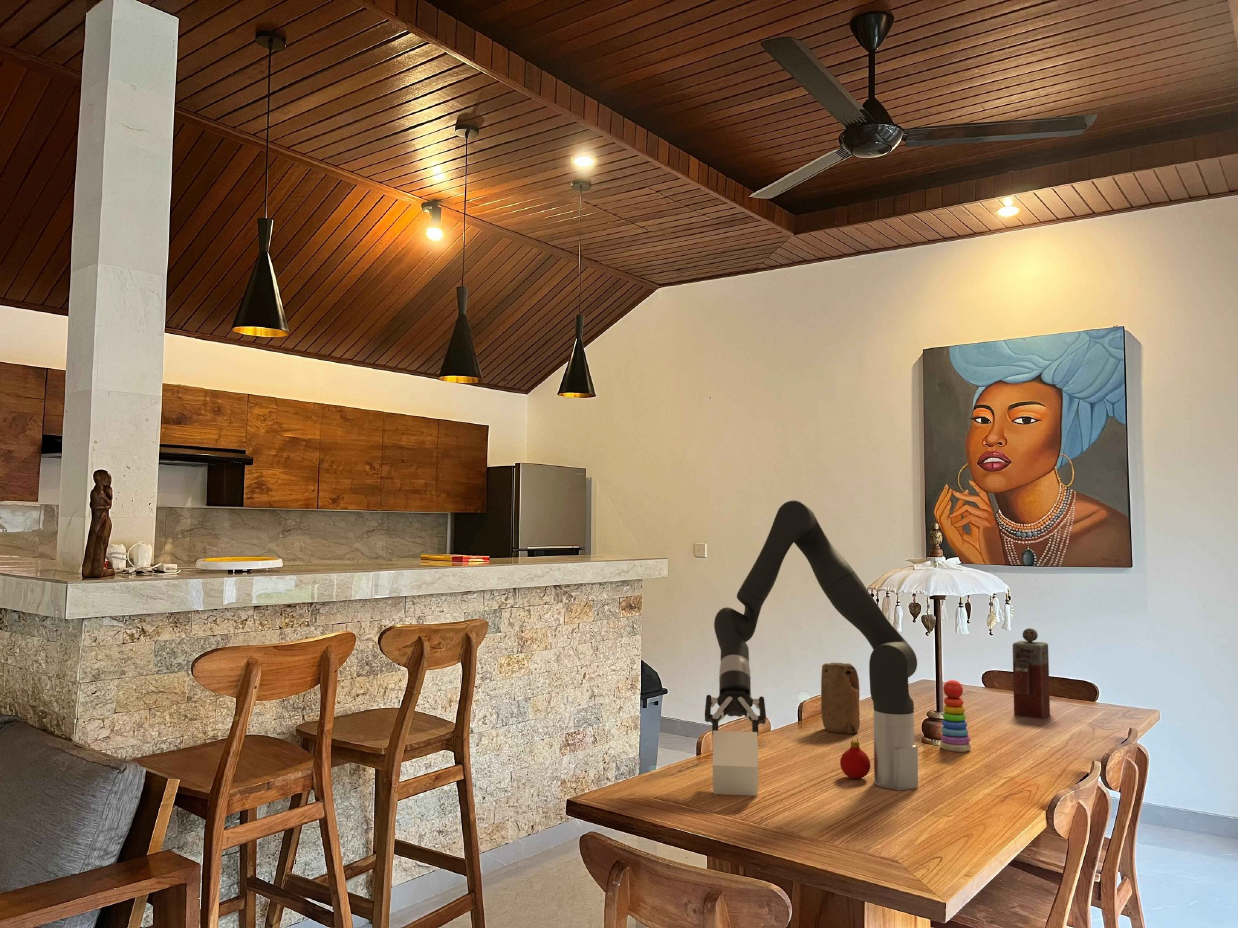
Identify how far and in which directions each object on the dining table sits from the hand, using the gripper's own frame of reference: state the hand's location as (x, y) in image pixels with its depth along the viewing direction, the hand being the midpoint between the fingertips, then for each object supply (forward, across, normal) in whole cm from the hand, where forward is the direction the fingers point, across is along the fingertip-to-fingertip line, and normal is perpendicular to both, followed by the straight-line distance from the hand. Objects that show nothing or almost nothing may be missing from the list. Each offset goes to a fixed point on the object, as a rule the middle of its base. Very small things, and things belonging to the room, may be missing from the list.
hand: (735, 736), depth 206 cm
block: (-38, +32, +56) cm, 75 cm away
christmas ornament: (-2, +29, +19) cm, 35 cm away
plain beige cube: (0, 0, +3) cm, 3 cm away
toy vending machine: (-62, +97, +80) cm, 140 cm away
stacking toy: (-26, +61, +44) cm, 79 cm away
